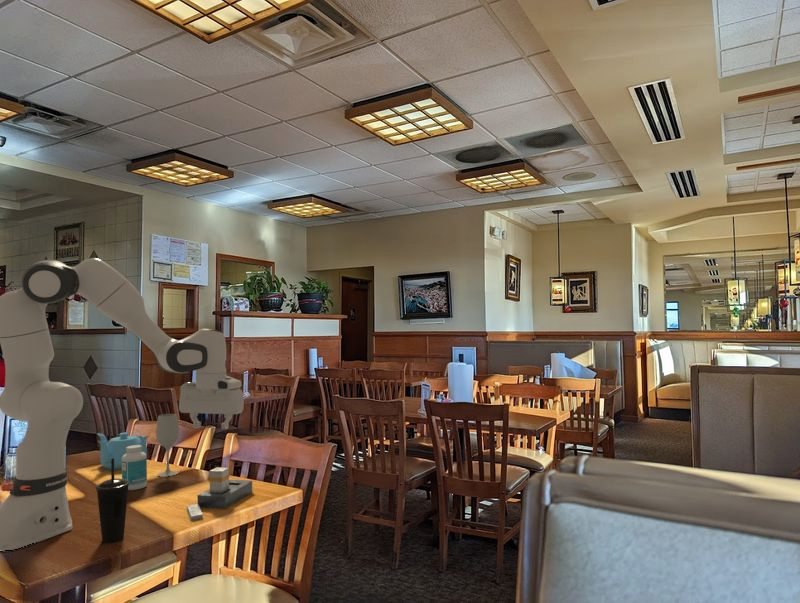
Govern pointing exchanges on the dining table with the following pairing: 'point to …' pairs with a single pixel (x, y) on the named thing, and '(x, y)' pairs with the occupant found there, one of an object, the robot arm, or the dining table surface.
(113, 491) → the drinking cup
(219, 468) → the small grey carton
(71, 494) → the dining table surface
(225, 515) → the dining table surface
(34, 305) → the robot arm
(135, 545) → the dining table surface
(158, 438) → the wineglass
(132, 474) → the pill bottle
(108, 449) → the teapot
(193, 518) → the light grey bar
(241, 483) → the socket block
